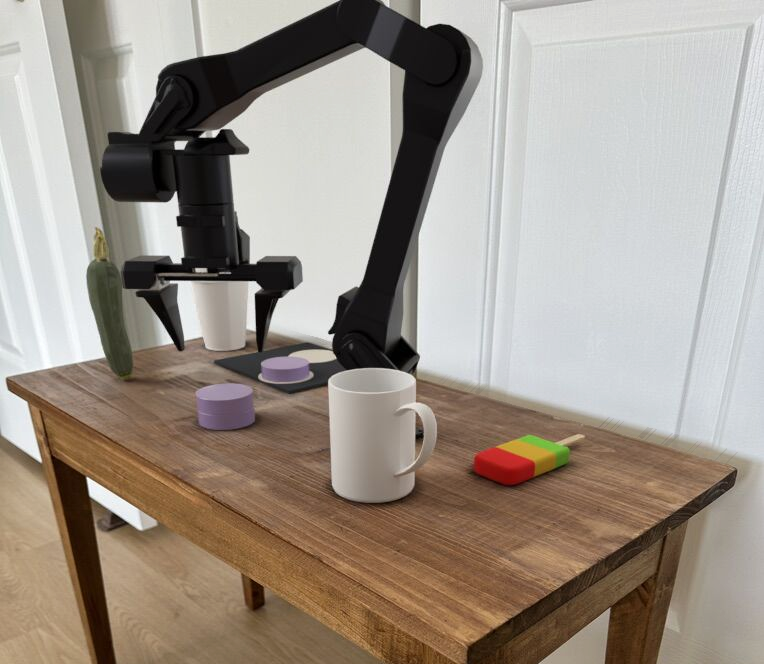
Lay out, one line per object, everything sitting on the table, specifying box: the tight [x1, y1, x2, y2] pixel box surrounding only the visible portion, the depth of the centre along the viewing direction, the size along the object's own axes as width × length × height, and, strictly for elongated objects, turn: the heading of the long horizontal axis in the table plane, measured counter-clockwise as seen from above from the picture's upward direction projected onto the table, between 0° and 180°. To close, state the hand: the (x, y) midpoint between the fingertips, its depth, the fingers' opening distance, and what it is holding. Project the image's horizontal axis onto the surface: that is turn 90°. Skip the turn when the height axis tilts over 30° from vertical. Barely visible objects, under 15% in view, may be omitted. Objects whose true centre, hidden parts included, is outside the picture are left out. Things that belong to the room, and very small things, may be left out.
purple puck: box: [194, 382, 255, 415], centre depth 89 cm, size 7×7×2 cm
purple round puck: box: [261, 357, 310, 382], centre depth 105 cm, size 7×7×2 cm
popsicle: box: [473, 433, 586, 486], centre depth 78 cm, size 6×15×2 cm, turn 131°
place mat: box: [213, 341, 346, 394], centre depth 111 cm, size 20×17×1 cm
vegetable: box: [85, 226, 134, 381], centre depth 100 cm, size 4×4×20 cm
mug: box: [327, 368, 438, 504], centre depth 69 cm, size 12×8×10 cm, turn 38°
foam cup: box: [189, 268, 249, 352], centre depth 119 cm, size 10×9×13 cm
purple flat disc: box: [196, 405, 256, 431], centre depth 89 cm, size 7×7×2 cm
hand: (221, 351), depth 86 cm, fingers open, 9 cm apart
